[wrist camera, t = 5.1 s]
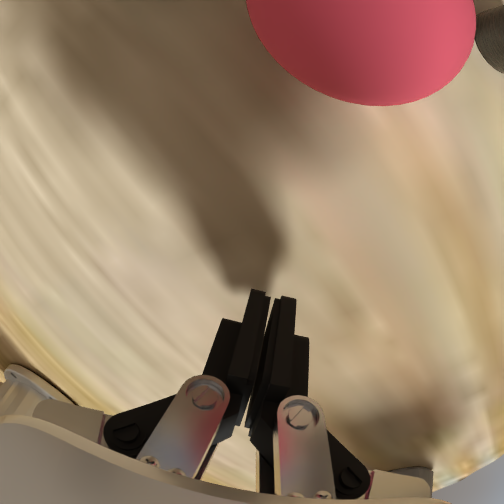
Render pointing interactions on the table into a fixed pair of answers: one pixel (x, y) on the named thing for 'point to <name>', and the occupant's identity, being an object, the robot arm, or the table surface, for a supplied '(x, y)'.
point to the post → (491, 36)
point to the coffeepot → (417, 474)
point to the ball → (368, 45)
